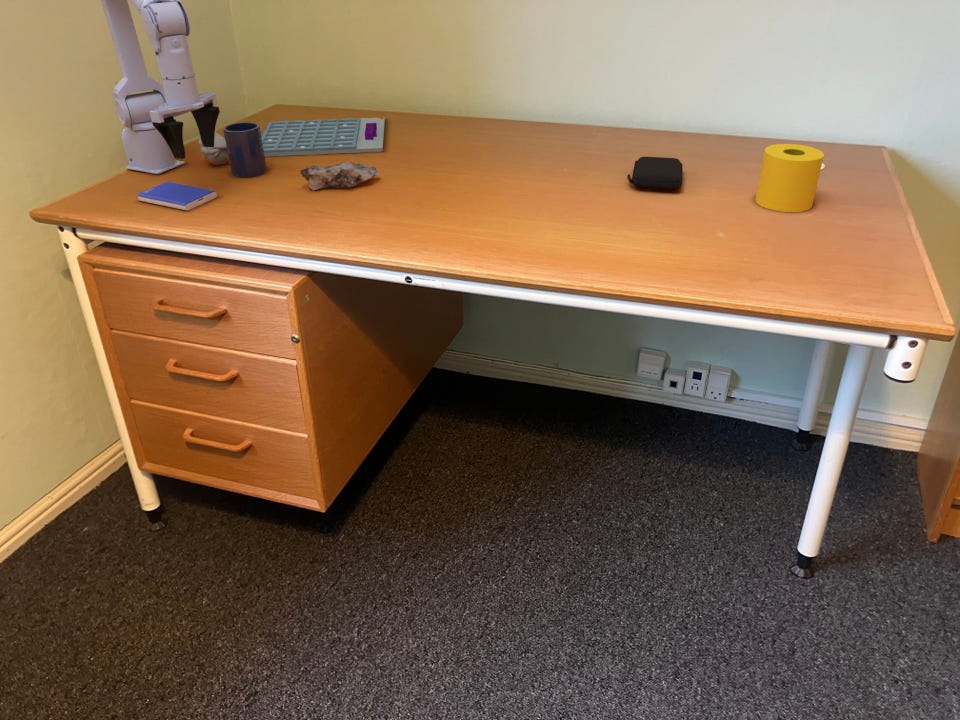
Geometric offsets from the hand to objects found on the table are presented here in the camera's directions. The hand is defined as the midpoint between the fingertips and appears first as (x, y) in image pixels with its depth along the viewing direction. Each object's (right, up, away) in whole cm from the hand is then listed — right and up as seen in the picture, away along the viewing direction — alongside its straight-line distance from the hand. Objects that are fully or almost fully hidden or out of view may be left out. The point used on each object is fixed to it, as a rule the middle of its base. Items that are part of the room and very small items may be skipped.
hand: (194, 152), depth 141 cm
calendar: (+16, +14, +39) cm, 45 cm away
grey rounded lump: (-4, +4, +23) cm, 24 cm away
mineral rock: (+26, -4, +11) cm, 28 cm away
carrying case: (+89, -3, +10) cm, 89 cm away
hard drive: (-5, -8, +5) cm, 11 cm away
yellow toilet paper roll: (+110, -10, -1) cm, 111 cm away
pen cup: (+5, +1, +18) cm, 19 cm away
